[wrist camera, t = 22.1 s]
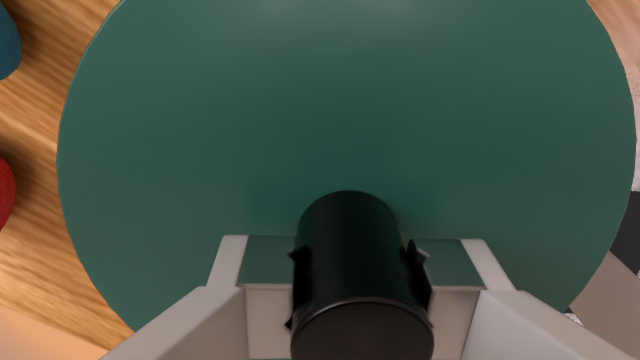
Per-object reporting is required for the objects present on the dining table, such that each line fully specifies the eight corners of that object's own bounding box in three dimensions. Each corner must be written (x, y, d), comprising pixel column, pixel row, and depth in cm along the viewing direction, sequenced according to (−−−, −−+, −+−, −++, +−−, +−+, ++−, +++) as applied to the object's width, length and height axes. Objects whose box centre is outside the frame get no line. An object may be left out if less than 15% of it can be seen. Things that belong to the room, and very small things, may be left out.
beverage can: (530, 255, 32) (638, 395, 21) (587, 222, 31) (734, 355, 20) (555, 290, 34) (667, 436, 23) (611, 261, 33) (757, 401, 22)
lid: (702, -79, 8) (1141, -137, 4) (522, 374, 14) (612, 544, 10) (7, -108, 8) (-377, -211, 3) (134, 371, 14) (56, 547, 9)
